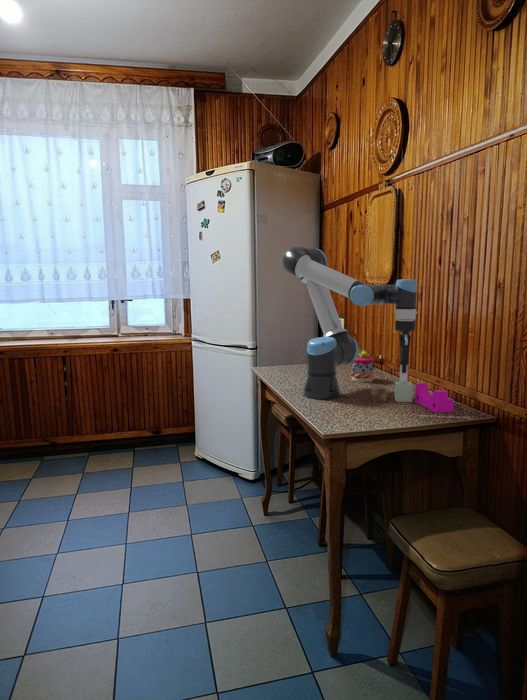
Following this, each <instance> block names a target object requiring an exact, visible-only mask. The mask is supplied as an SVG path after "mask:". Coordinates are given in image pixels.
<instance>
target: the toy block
mask: <svg viewBox="0 0 527 700" xmlns="http://www.w3.org/2000/svg"><path fill="white" fill-rule="evenodd" d="M414 393H415V399H414V403H416V404H418V405H421V406H423V407H425V408H427V409H429V410H430V411H432V412H433V411H434V412H435V413H445V412H446V413H448V412H454V403H455V402H454V401H455V400H454V398H452V397H449V395H448V394H449V393H448V391H447V390H445V389H435V390H433V393H432V395H431V393H430V390H429V386H428V383H425V382H421V383H420V382H419V383H415V392H414Z"/></svg>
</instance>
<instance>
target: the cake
mask: <svg viewBox="0 0 527 700" xmlns="http://www.w3.org/2000/svg"><path fill="white" fill-rule="evenodd" d="M358 349H359V350H358V355H357V357H356V359H355V360H354V361H353V362H351V363H350V364H351V365H350V366H351V373H350V376H351V381H353V382H356V383H357V382H358V383H370V382H373V381H374V376H375V373H374V370H375V358H374V357H371V354H370V353H368V352H367V349H366V348H363V349H362V350H361V348H358Z"/></svg>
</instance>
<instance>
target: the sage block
mask: <svg viewBox="0 0 527 700" xmlns="http://www.w3.org/2000/svg"><path fill="white" fill-rule="evenodd" d="M413 387H414V384H413V382H412V381H410V380H407V381H400V380H394V400H395V402H399V403H400V402H401V403H413V392H414V391H413Z"/></svg>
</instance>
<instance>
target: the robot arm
mask: <svg viewBox="0 0 527 700" xmlns="http://www.w3.org/2000/svg"><path fill="white" fill-rule="evenodd" d="M281 261H282V262H281V264H282V267H283V269H284V270H285V271H286V272H287V273H288V274H291V275H293V276H294V277H296V278H299V279H300V281H301V283H302V284H305V285H306V287H307V291H308V293H309V296H310V300H311V302H312V306H313V308H314V311H315V313H316V317H317V319H318V322H319V326H320V328H321V331H322V333H323V335H322V336H321V337H314V338H311V339H309V341H308V342H307V347H306V352H307V353H306V354H307V355H306V356H307V360H306V361H307V362H306V363H307V364H306V365H307V366H306V367H307V373H306V374H307V376H306V380H305V383H304V386H303V389H302V395H303V397H306V398H309V399H315V400H316V399H317V400H330V399H336V398H339V397H340V396H341V388H340V385H339V382H338V379H337V367H340V366H341V367H342V366H346V365H349V364H352V363H351V362H353V361H354V360H355V359H356V357H357V355H358V350H359V349H360V348H359V344H358V342H357V341H356V340H355V338H353V337H351V336H350V334H349V331H348V330H347V329H345V328H343V325H342V323H341V320H340V317H339V316H340V315H339V314H338V311H337V309H336V305H335V303H334V300H333V297H332V294H331V291H332V292H334V293H337V294H339V295H341V296H343V297H344V298H345V297H346V298H347V299H349V300H350V301H351V303H352V304H354V305H355V306H360V307H366V306H370V305H371V306H372V305H373V306H374V305H395V309H394V314H395V315H394V319H395V323H394V330H395V331H396V332H397V331H399V332H400V334H398V340H399V343H398V344H399V362H398V365H399V381H408V368H409V367H408V366H409V364H410V362H409V361H410V360H409V358H410V346H411V345H410V343H411V338H412V337H411V334H410V332H413V331H416V321H415V320H416V315H417V314H418V311H417V295H418V294H417V293H418V287H417V286H418V285H417V283H418V282H417V280H415V279H411V278H408V279H406V278H405V279H396V282H395V284H379V283H378V284H376V283H375V284H367V283H365V282H363V281H360V280H358V279H356V278H355V277H354V278H353V277H351V276H350V275H349V276H348V275H347V274H344V273H343V272H340V271H338V270H335V269H333V268H331V267H328V266H327V265H328V259H327V256H326V254H325V253H324V251H323V250H321V249H319V248H317V247H312V246H311V247H305V246H304V247H303V246H292V247H290V248H288V249H287V250H286V251H285V252H284V254H283V256H282V259H281Z"/></svg>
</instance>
